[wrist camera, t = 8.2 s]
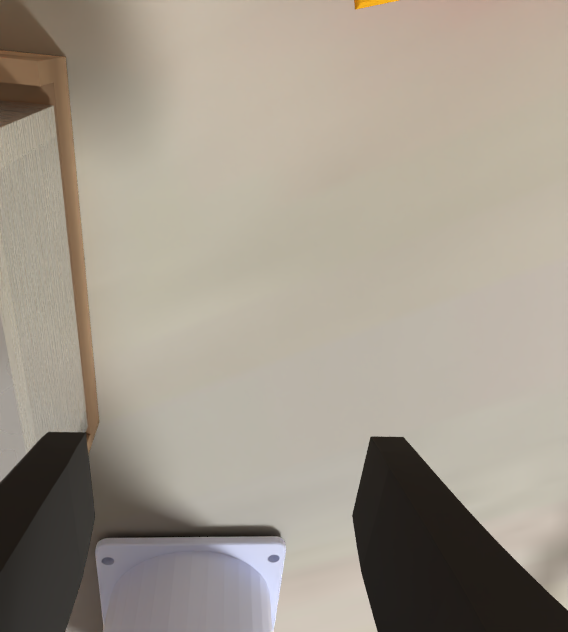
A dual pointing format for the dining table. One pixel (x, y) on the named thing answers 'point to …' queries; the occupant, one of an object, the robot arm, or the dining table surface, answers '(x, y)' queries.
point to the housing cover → (35, 289)
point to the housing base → (52, 89)
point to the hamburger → (369, 3)
